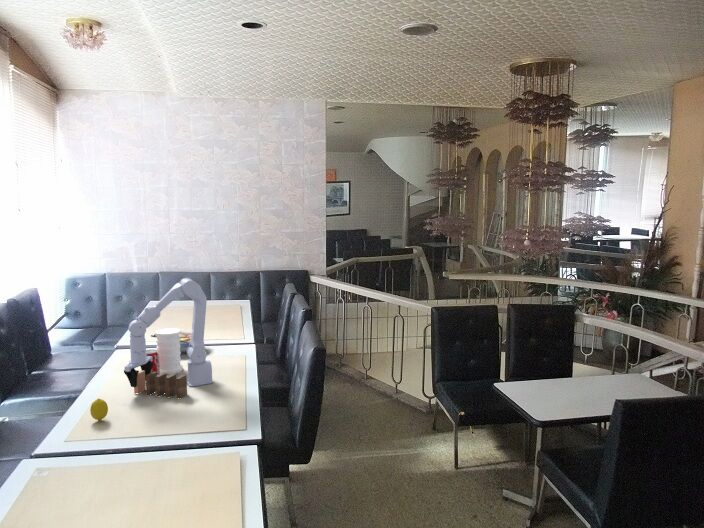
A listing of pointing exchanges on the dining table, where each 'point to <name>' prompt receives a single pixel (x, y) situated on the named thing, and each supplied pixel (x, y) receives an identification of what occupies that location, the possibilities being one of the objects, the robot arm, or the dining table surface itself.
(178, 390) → the domino
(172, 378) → the domino
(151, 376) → the domino
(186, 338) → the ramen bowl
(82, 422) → the dining table surface
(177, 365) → the decorative container
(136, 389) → the salmon pink rectangular block
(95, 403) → the lemon
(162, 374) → the domino
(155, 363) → the soda can
